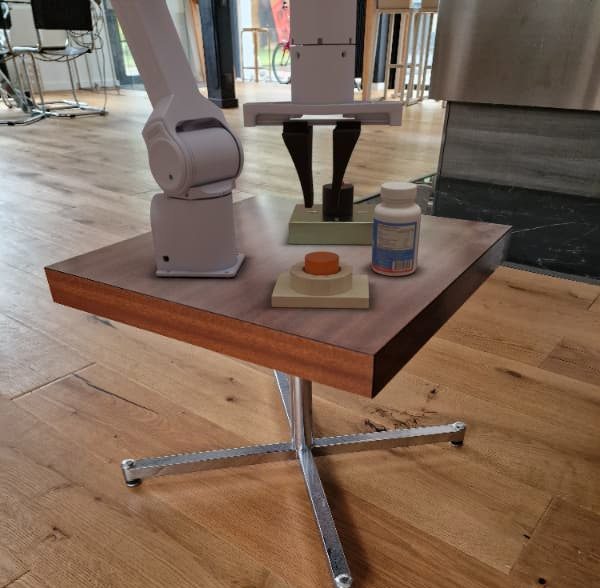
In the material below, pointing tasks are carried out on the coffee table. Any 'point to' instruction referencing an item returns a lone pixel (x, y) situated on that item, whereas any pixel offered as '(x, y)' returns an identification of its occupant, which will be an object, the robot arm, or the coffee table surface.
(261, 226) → the coffee table surface
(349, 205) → the dial
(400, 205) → the pill bottle
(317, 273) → the button
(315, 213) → the panel
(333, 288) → the switch block
